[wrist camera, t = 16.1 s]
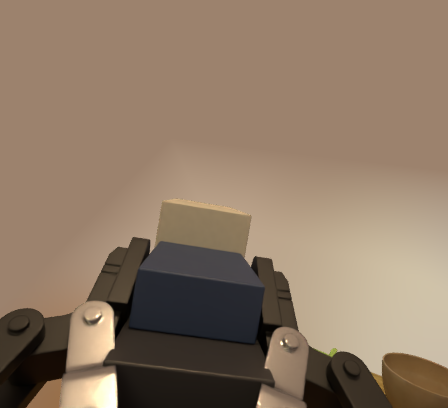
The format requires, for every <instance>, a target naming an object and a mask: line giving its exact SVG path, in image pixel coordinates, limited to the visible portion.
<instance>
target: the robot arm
mask: <svg viewBox="0 0 448 408" xmlns="http://www.w3.org/2000/svg"><path fill="white" fill-rule="evenodd" d="M149 252H150V240H149V239H143V238H136V237H133V238H132V240H131V242H130V245H129V247H128V248H122V247H118V248H116V249H115V250H114V251H113V252H111V253H110V254H109V256H108V258H107V260H106V262H105V265H104V266H103V268H102V270H101V273H100V274H99V276H98V279H97V281H96V283H95V285H94V287H93V289H92V291H91V293H90V295H89V297H88V299H87V301H86V302H85V303H83V304H81V305H80V306H78V307H77V308H76V309H75V310H74V312H72V313H70V314H67V315H63V316H56V317H49V318H44V317H43V315H42V314H41V313H40V312H39V311H37V310H35V309H28V308H26V309H18V310H15V311H13V312H10V313H8V314H7V315H5V316H4V317H2V318H1V319H0V408H26V407H27V406H28V404H29V403H30V402H31V401H32V399H33V398H34V397H35V396H36V394H37V393H38V392H39V391H40V389H41V388H42V387H43V386H44V384H45V383H46V382H47V381H51V380H56V379H61V378H62V386H61V395H60V405H59V408H118V404H117V375H116V364H114V365H108V366H102V365H103V361H104V359H105V357H106V356H107V354H108V352H109V351H110V350H111V349H115V340H116V338H117V336H118V334H119V333H120V331H121V329H122V327H123V326H124V324H125V322H127V320H128V318H129V316H130V313H131V307H132V301H133V295H134V289H135V283H136V277H137V271H138V268H139V267H140V266H141V264H142V263H143V262H144V261H145V259H146V258H147V257H148V256H149ZM251 268H252V270H253V271H254V272H255V274H256V275H257V276H258V278H259V279H260V280H261V282H262V283H263V285H264V286H265V292H264V298H263V303H262V309H261V315H260V321H259V327H258V332H257V340H258V341H259V344H260V346H261V349H262V351H263V353H264V356H265V364H264V368H268V369H269V370H271V373H272V375H273V377H274V380H275V388H274V387H271V386H269V385H267V384H265V383H262V382H261V384H260V387H259V390H258V393H257V396H256V399H255V402H254V405H253V408H393V407H392V405H391V404H390V402H389V401H388V399H387V398H386V396H385V394H384V393H383V391H382V390H381V388H380V387H379V385H378V383H377V382H376V380H375V379H374V377H373V376H372V374H371V372H370V371H369V370H368V368H367V366H366V365H365V364H364V362H363V361H362V360H361V359H359V358H358V357H357V356H355V355H353V354H351V353H348V352H337V353H335V354H334V355H333V357H331V356H329V355H326V354H324V353H322V352H320V351H317V350H315V349H314V348H312V347H310V346H309V345H308V343H307V340H306V339H305V337H304V336H303V335H302V334H301V333H300V332H299V330H298V326H297V321H296V317H295V312H294V308H293V303H292V301H291V300H292V298H291V293H290V289H289V284H288V281H287V279H286V278H285V276H284V275H283V273H282V272H276V271H274V269H273V263H272V259H269V258H262V257H256V256H255V257H254V259H253V262H252V265H251Z"/></svg>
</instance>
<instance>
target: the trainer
mask: <svg viewBox="0 0 448 408" xmlns="http://www.w3.org/2000/svg"><path fill="white" fill-rule="evenodd" d="M250 222H251V215H249V214H246V213H243V212H241V211H238V210H236V209H233V208H229V207H224V206H218V205H212V204H206V203H200V202H195V201H188V200H183V199H171V200H165V201H163V202H162V207H161V212H160V218H159V225H158V230H157V236H156V242H155V248H154V250H153V251H152V252H151V253H150V254H149V256H148V257H147V258H146V259H145V261H144V262H143V263H142V264H141V266H140V267H139V268H138V271H137V277H136V283H135V289H134V295H133V301H132V307H131V313H130V316H129V318H128V320H127V322H125V324H124V326H123V327H122V329H121V331H120V333H119V334H118V336H117V338H116V340H115V349H111V350H110V351H109V352H108V354H107V356H106V357H105V359H104V361H103V365H102V366H108V365H114V364H116V375H117V404H118V408H253V405H254V402H255V399H256V396H257V393H258V390H259V387H260V384H261V382H262V383H265V384H267V385H269V386H271V387H274V388H275V380H274V377H273V375H272V373H271V370H269V369H268V368H264V364H265V356H264V353H263V351H262V349H261V346H260V344H259V341H258V340H257V332H258V327H259V321H260V315H261V309H262V303H263V298H264V292H265V286H264V285H263V283H262V282H261V280H260V279H259V278H258V276H257V275H256V274H255V272H254V271H253V270H252V268H251V267H250V265H249V264H248V263H247V261H246V260H245V259H244V257H245V251H246V245H247V240H248V234H249V228H250Z"/></svg>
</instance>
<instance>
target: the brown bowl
mask: <svg viewBox="0 0 448 408" xmlns="http://www.w3.org/2000/svg"><path fill="white" fill-rule="evenodd" d="M382 378H383V385H384V389H385V393H386V396H387V399H388V401H389V402H390V404H391V405H392V407H393V408H448V369H447V368H446V367H444V366H442V365H439V364H437V363H435V362H432V361H429V360H427V359H424V358H420V357H417V356H413V355H409V354H404V353H387V354H385V355H384V356H383V360H382Z"/></svg>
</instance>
